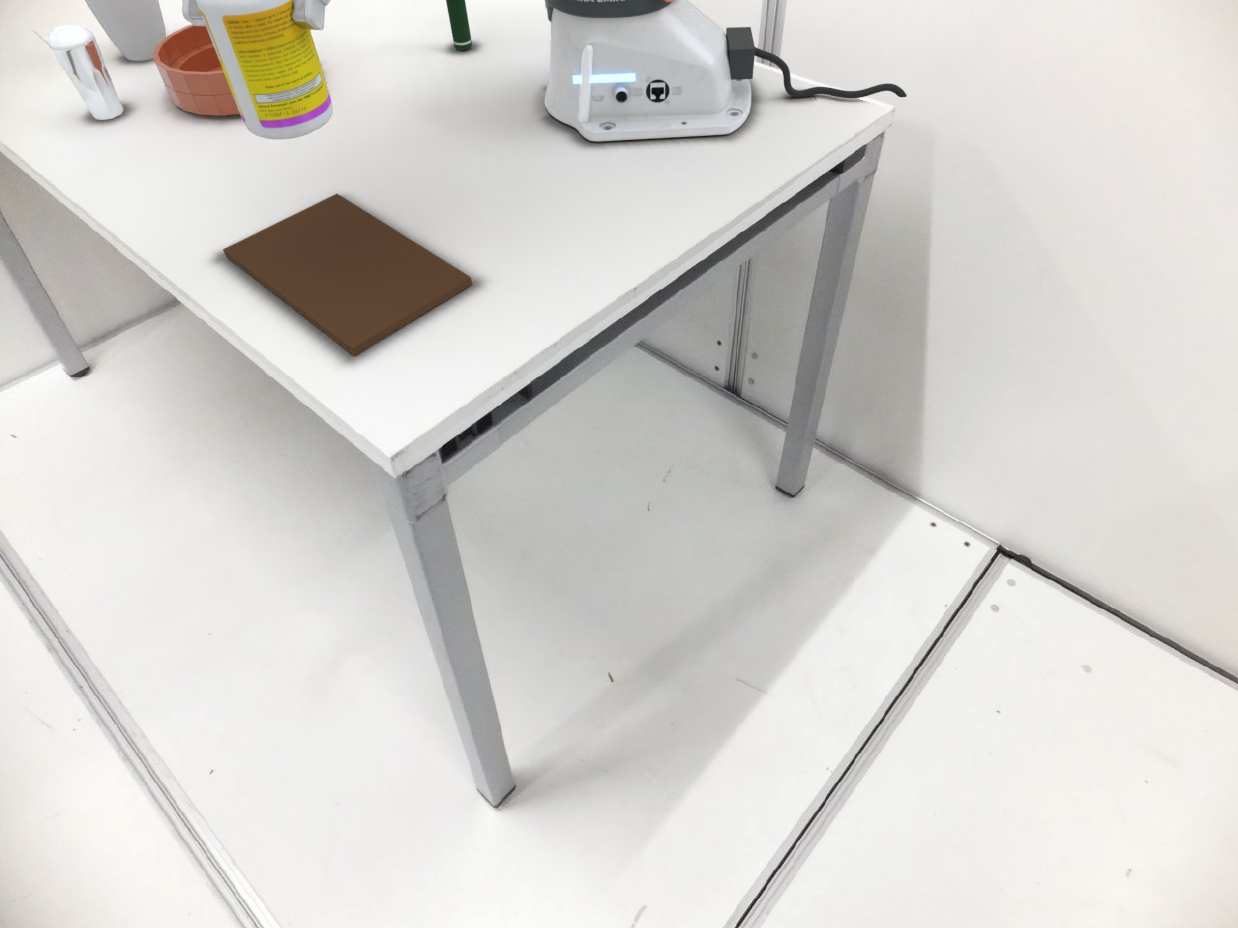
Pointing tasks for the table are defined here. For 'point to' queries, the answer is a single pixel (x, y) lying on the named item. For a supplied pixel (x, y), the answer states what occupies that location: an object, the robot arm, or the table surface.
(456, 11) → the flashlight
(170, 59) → the bowl
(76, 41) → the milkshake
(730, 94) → the robot arm
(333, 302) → the mat
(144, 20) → the cup
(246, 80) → the supplement bottle
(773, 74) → the table surface
